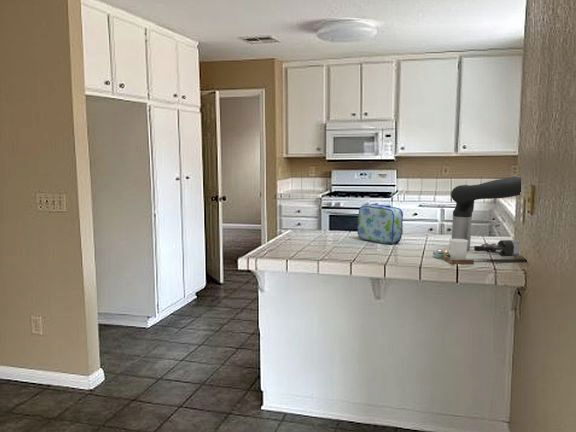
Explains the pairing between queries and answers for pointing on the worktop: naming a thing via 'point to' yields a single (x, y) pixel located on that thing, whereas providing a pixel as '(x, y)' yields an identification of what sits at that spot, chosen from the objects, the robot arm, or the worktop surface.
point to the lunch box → (380, 223)
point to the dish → (439, 255)
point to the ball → (439, 251)
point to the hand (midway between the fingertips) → (474, 248)
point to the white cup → (458, 249)
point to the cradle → (453, 262)
